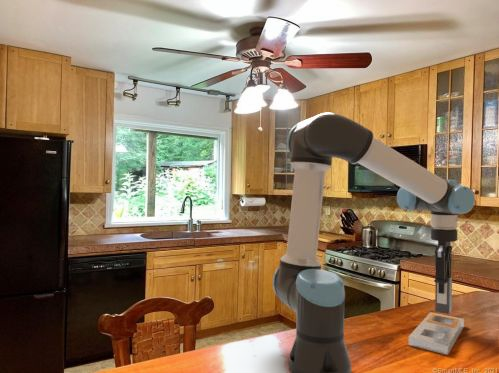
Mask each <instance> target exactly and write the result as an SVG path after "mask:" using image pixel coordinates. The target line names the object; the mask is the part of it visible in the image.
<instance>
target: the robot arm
mask: <svg viewBox="0 0 499 373" xmlns="http://www.w3.org/2000/svg"><path fill="white" fill-rule="evenodd" d="M286 140H287V141H286V145H287V146H286V147H287V150H288V152H289V153H290V163H289V164H290V166H291V167H292V168H293V169H294V176H293V186H292V197H291V205H290V215H289V224H288V233H287V245H286V252H285V254H284V255H282V256H281V257H280V261H279V267H278V268H277V269H276V270H275V272H274V273H273V277H272V289H273V291H274V293H275V295H276V296H277V298H278V300H279V301H281V303H282V304H283V305H284V306H286V307H288V308H289V309H290V310H292V311H293V313H295V314H296V316H295V318H296V319H295V320H296V322H295V325H296V326H295V328H296V331H295V333H296V334H295V339H294V341H293V344H292V347H291V350H290V353H289V356H288V369H289V371H290V372H291V373H352V362H351V359H350V358H351V357H350V355H349V351H348V349H347V346H346V343H345V300H346V291H345V284H344V281H343V279H342V277H341V276H339V275H338V274H336V273H334V272H332V271H329V270H325V269H322V262H321V261H320V260H319V259H318V255H317V254H318V246H319V236H320V225H321V215H322V209H323V208H322V206H323V198H324V197H323V196H324V188H325V187H324V186H325V177H326V173H327V171H329V170H330V169H332V165H333V164H332V162H333V161H332V160H333V158H335V159H340V160H342V161H343V160H344V161H345V162H347V163H349V164H351V165H356V164H359V165H360V166H362V167H364V168H366V169H368V170H369V171H372V172H373V173H374V174H377V175H379V176H380V177H381V178H384V179H385V180H387V181H389V182H391V183H393V184H394V185H396V186H397V187H400V188H399V189H398V191H397V194H396V201H397V205H398V206H399V208H401V209H402V210H404V211H426V212H430V226H431V228H430V239H431V240H433V241H436V242H437V245H436V246H435V250H434V257H435V261H434V262H435V277H436V279H434V280H433V283H435V282H437V303H441V304H447V283H446V276H452V257H453V256H452V253H453V252H452V251H453V246H452V245H451V243H452V242H454V243H455V242H457V241H458V229H456V228H458V222H459V221H460V220H461V219H460V218H458V214H461V215H463V214H467V213H470V212H471V211H472V209H473V208H474V205H475V203H476V197H475V196H476V195H475V193H474V191H473V190H472V189H471V188H470V187H467V186H463V185H460V184H459V185H458V181H457V180H455V179H444V178H442V177H441V176H439V175H437V174H435V173H433V172H432V171H430V170H428V169H427V168H425V167H424V166H422V165H420V163H419V164H418V163H417V162H416V161H414V160H412V159H411V158H409V157H407V156H405V155H404V154H402V153H400V152H398V151H397V150H395V149H394V148H392V147H391V146H389V145H387V144H385V143H384V142H382V141H380V140H378V139H377V138H376V137H375V135H374V132H373V131H372V130H371V129H368V128H367V127H365V126H363V125H362V124H360V123H358V122H356V121H354V120H353V119H351V118H348V117H346V116H344V115H342V114H339V113H334V112H322V113H320V114H317V115H315V116H313V117H310V118H306V119H302V120H300V121H299V122H297V123H296V124H295V125H294V126H293V127H292V128H291V129H290V131H289V133H288V136H287V139H286ZM453 280H454V277H453V276H452V281H453Z"/></svg>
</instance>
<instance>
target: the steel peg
mask: <svg viewBox="0 0 499 373" xmlns="http://www.w3.org/2000/svg"><path fill="white" fill-rule="evenodd" d="M452 277H453V276H452V275H451V276H446V283H447V304H441V303H437V282H434V283H435V290H434V291H435V297H434V298H435V300H434V301H435V302H434V304H435V305H434V306H435V307H434V308H435V310H434V311H435V312H436V313H439V314H441V313H442V314H445V315H446V314H447V315H450V314H451V312H452V311H453V310H452V309H453V305H452V304H453V280H452ZM435 279H436V276H435ZM435 279H434V280H435ZM435 312H434V313H435Z"/></svg>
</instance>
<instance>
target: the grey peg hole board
mask: <svg viewBox="0 0 499 373" xmlns="http://www.w3.org/2000/svg"><path fill="white" fill-rule="evenodd" d="M464 328H465V318H461V317H456V316H451V315H448V314H447V315H446V314H443V313H442V314H441V313H438V312H436V313H435V312H431V311H429V313H428V314H427V315H426V316H425V317H424V319H423V320H422V321H421V322H420V323H419V324H418V325H417V327H416V328H415V329H414V330H413V331H412V332H411V333H410V334H409V335H408V346H411V347H414V348H419V349H421V350H427V351H430V352H434V353H438V354H442V355H445V356H449V354H450V352H451V350H452V348H453V346H454V345H455V344H456V341H457V340H458V338H459V336H460V334H461V333H462V331H463V329H464Z"/></svg>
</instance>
